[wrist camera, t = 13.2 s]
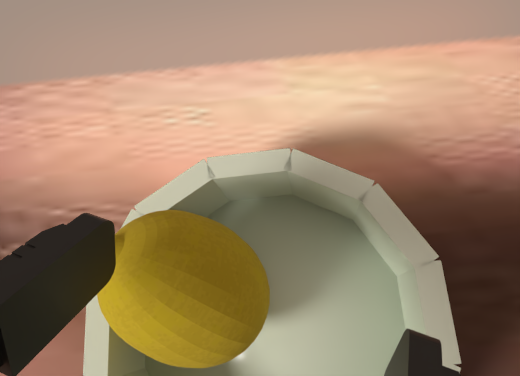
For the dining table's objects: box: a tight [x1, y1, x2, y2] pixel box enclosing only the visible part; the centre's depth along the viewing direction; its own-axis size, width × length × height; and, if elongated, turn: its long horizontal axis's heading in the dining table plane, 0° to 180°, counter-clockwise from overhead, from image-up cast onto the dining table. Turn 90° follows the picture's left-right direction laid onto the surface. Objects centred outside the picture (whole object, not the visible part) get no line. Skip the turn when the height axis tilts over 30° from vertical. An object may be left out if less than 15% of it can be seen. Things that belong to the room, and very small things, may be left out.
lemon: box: [97, 210, 270, 368], centre depth 16 cm, size 6×6×8 cm
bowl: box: [83, 148, 461, 376], centre depth 18 cm, size 14×14×4 cm
